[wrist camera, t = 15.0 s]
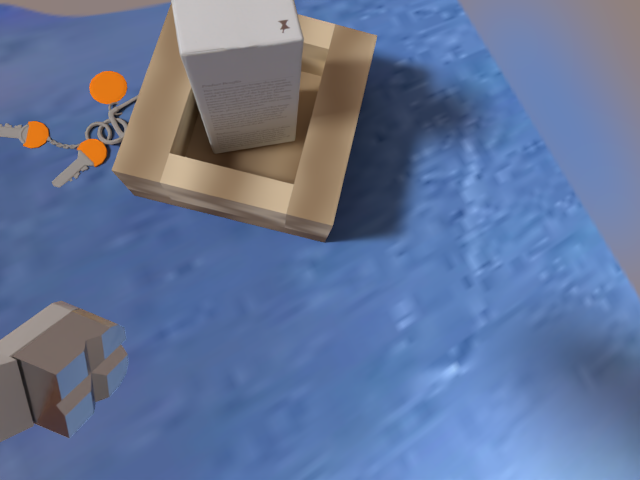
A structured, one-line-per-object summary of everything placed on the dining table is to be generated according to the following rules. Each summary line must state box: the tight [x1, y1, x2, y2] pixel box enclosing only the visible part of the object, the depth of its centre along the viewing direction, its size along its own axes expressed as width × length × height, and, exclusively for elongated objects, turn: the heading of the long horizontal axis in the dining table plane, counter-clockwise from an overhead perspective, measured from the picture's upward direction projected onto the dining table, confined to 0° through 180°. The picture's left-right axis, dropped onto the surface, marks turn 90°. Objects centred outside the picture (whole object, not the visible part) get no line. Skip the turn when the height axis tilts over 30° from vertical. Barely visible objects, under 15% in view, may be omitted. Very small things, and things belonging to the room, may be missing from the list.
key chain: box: [0, 71, 138, 187], centre depth 35 cm, size 13×7×1 cm, turn 120°
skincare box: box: [171, 0, 304, 154], centre depth 29 cm, size 6×4×12 cm
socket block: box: [112, 2, 377, 243], centre depth 34 cm, size 14×14×5 cm
